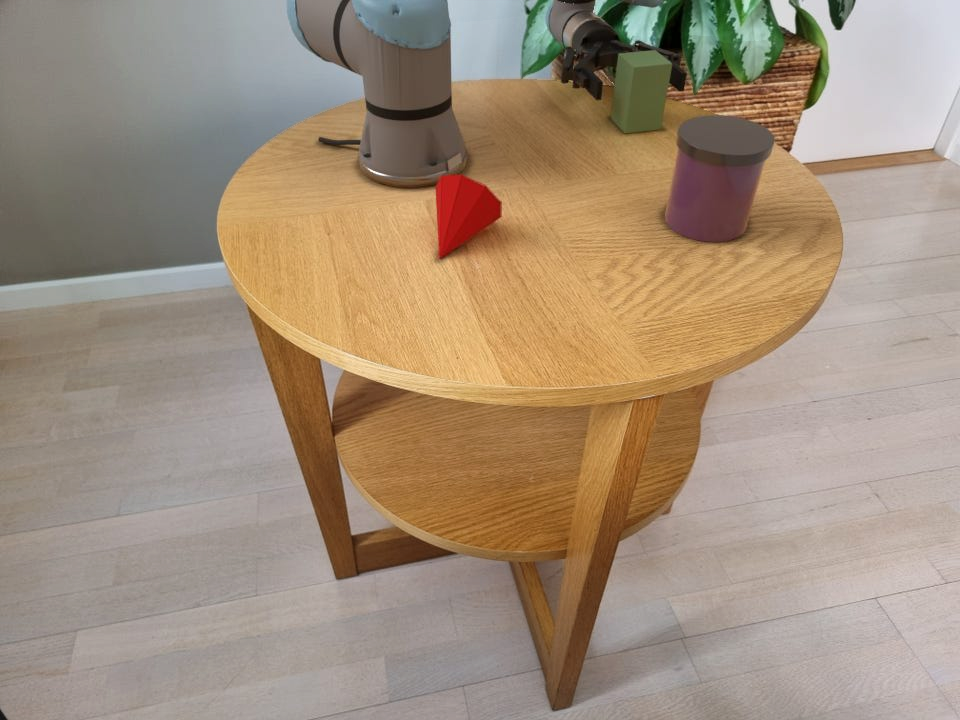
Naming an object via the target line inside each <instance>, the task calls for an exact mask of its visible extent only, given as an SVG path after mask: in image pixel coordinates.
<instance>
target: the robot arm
mask: <svg viewBox="0 0 960 720" xmlns="http://www.w3.org/2000/svg"><path fill="white" fill-rule="evenodd" d="M618 1H620V2H623V3H627V4H630V5H633V6H636V7H638V6H639V7H645V8H651V9H652V8H654V9H655V8H657V7H659V6H661V5H662V4H664V2H665V1H666V0H618ZM564 2H565V3H564ZM573 3H574V4H573ZM594 6H595V7H596V0H553V1H551V3H550V4H549V6H548V8H547V11H546V13H545V25H546V28H547V30H548V32H549V33H550V34H551V37H552V38H553V39H554V41H555V42H557V43H558V44H560V45H561V46H562V47H563V48H564V56H563V58H564V59H563V62H562V64H561V72H560V73H561V74H560V83H561V84H568V83H569V82H570V81H572V88H573V89H585V90H586V91H587V92H588V93H589V95H590V96H591V97H593V98H594V100H596V101H601V100H602V96H603V94H602V93H603V86H604V81H603V80H602V79H601V78H600V77H599V76H598V75H597V74H596V73H595V72H598V71H603V70H605V69H606V68H608V67H610V68H617V61H618V54H619V53H630V52H640V51H651V50H656V51H657V52H658V53H660V54H661V55H662V56H663V57H665V58H666V59H667V60H668V61H670V62H671V63H672V69H671V74H670V80H669V85H671V86H672V88H674V89H675V90H677V91H678V92H684V91H685V87H686V82H687V81H686V80H687V76H688V73H687V71H685V70H684V69H683V68H682V67H681V62H682V56H683V55H682V54H679V53H675V52H674V51H669V50H666V49H663V48H660V47H656V46H654V45H650V44H647V43H646V42H644V41H642V40H640V39H638V40H635V41H634V45H632V44H627V43H624V42H622V41H621V39H620V36H619V34H618V32H617V31H616V29H614V27H613V26H611V25H610V24H608V22H606V21H605V20H604V19H603V18H601V17H600V16H599V15H597V14H596V12H594V13H593V10H594ZM286 14H287V19H288V22H289V25H290V28H291V31H292V33H293V36H294V37H295V38H296V40H297V41H298V42H299V44H300V45H302V47H303V48H305V49H306V50H307V51H309V52H311V53H312V54H313V55H314V56H315V57H318V58H319V59H321V60H322V61H324V62H327V63H331V64H335V65H337V66H339V67H341V68H343V69H345V70H347V71H350V72H352V73H354V74H357V75H359V76H361V77H362V83H363V84H362V85H363V91H364V99H365V100H364V101H365V109H366V114H365V119H364V123H363V128H362V133H361V136H360V137H361V138H360V139H332V138H331V139H330V138H327V137H322V136H319V137H318V142H319V143H323V144H327V145H331V146H333V145H334V146H359V148H358V161H359V162H358V163H359V168H360V170H361V172H362V173H363V175H364V176H366V178H368V179H370V180H371V181H374V182H377V183H379V184H382V185H386V186H391V187H399V188H419V187H427V186H433V185H437V183H438V181H439V179H440V177H441V175H453V176H459V174H461V172H462V171H463V170H464V169H465V168H466V165H467V147H466V143H465V140H464V136H463V134H462V132H461V129H460V127H459V123H458V120H457V118H456V115H455V113H454V109H453V95H452V94H453V91H452V90H453V89H452V87H453V86H452V38H451V37H452V36H451V35H452V34H451V33H452V29H451V28H452V22H451V18H450V11H449V1H448V0H286Z"/></svg>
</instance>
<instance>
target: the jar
mask: <svg viewBox="0 0 960 720" xmlns="http://www.w3.org/2000/svg"><path fill="white" fill-rule="evenodd" d="M675 142H676V147H677V149H676V156H675V161H674V167H673V171H672V176H671V182H670V187H669V190H668V191H669V192H668V195H667V196H668V197H667V202H666V207H665V213H664V221H665V223H666V225H667V226H668V227H669V228H670V229H671V230H672V231H674V232H676V233H677V234H678V235H681V236H682V237H685V238H688V239H692V240H694V241H695V240H696V241H700V242H708V243H723V242H728V241H732V240H735V239H738V238H740V236H742V235H743V234H744V233H745V232H746V229H747V227H748V223H749V220H750V216H751V212H752V209H753V206H754V202H755V199H756V196H757V192H758V188H759V184H760V181H761V178H762V175H763V171H764V167H765V164H766V160H768V159H769V158H770V157H771V155H772V153H773V149H774V147H775V143H776V139H775V135H774V134H773V132H772V131H771V130H769V129H768V127H765V125H762V124H760V123H757V122H755V121H752V120H750V119H746V118H743V117H738V116H732V115H724V114H707V115H699V116H694V117H691V118H688V119H685V120H684V121H683V122H681V124H679V126H678V128H677V132H676V138H675Z"/></svg>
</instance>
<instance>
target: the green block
mask: <svg viewBox="0 0 960 720" xmlns="http://www.w3.org/2000/svg"><path fill="white" fill-rule="evenodd" d="M671 69H672V63H671V62H670V61H668V60H667V59H666V58H665V57H663V56H662V55H661V54H660V53H658V52H657V51H656V50H651V51H640V52H630V53H619V54H618V61H617V67H616V70H615V78H614V86H613V95H612V102H611V111H610V120H612V122H614V124H615V125H616V126H617V127H618V128H619V129H620V131H622V133H624V134H626V135H627V134H633V133H644V132H652V131H659V130H660V131H661V130H662V127H663V126H662V125H663V119H664V114H665V108H666V102H667V96H668V90H669V85H670V83H669V80H670V74H671Z"/></svg>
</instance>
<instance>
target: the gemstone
mask: <svg viewBox="0 0 960 720" xmlns="http://www.w3.org/2000/svg"><path fill="white" fill-rule="evenodd" d="M435 202H436V203H435V205H436V225H437V242H438V259H439V260H441V259H442V258H443V257H445V256H446V255H448V254H449V253H451V252H452V251H454V250H455V249H457V248H458V247H459V246H461V245H463V244H464V243H466V242H467V241H468V240H470V239H471V238H473V237H475V236H476V235H477V234H479V233H480V232H482V231H483V230H485V229H486V228H487V227H489V226H491V225H492V224H493V223H495V222H496V221H498V220H499V219H501V218H502V216H503V202H502V200H501V199H499V198H498V197H497V196H496V194H495V193H494V192H493V191H492V190H491V189H490V188H489V187H488V186H487V185H486V184H484V183H482V182H479V181H477V180H475V179H473V178H470V177H468V176H466V175H464V174H462V173H459V174H458V175H456V176H453V175H441V177H440V179H439V181H438V183H437V184H435Z"/></svg>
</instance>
